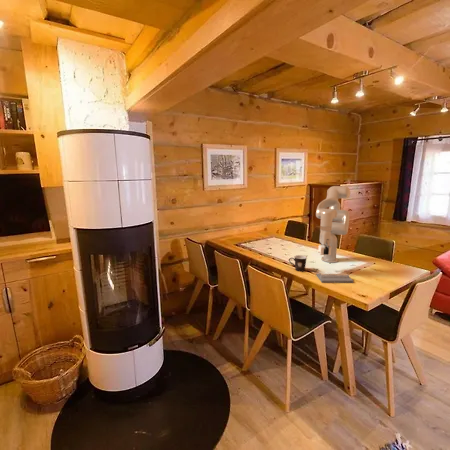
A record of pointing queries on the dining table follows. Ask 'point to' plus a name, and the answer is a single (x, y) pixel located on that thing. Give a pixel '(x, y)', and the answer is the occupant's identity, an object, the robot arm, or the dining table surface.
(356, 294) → the dining table surface
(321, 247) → the block
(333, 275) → the rail
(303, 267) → the coffee mug
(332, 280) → the mounting board
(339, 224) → the robot arm
